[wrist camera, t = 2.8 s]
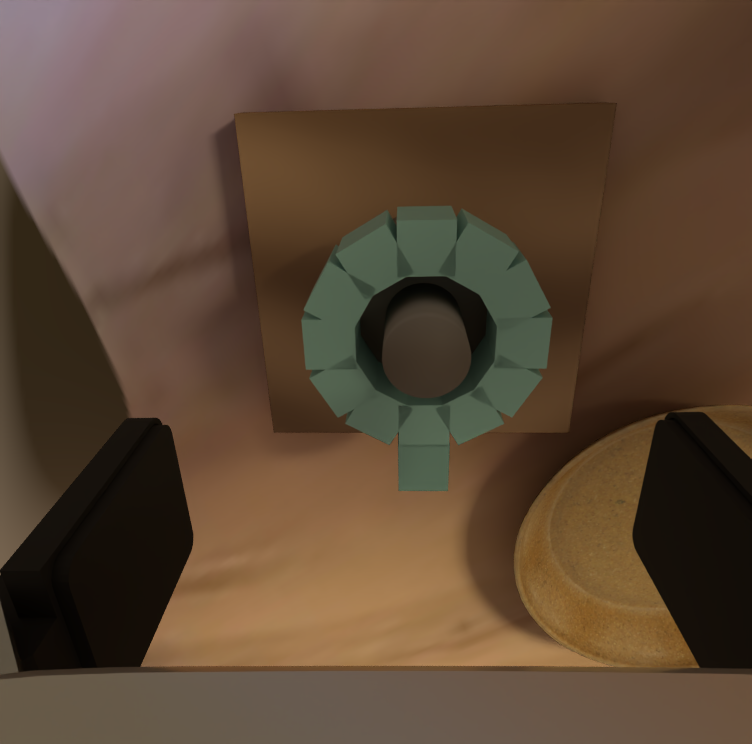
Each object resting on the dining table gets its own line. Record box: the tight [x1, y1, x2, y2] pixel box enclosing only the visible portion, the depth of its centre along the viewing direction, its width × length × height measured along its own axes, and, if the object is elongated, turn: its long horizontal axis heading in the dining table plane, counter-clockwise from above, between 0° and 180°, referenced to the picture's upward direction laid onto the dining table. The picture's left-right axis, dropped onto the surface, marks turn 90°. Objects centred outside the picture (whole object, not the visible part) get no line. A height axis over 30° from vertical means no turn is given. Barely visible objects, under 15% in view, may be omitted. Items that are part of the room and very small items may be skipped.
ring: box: [301, 206, 552, 491], centre depth 17 cm, size 9×7×2 cm
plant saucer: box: [514, 405, 752, 668], centre depth 25 cm, size 15×15×3 cm
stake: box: [234, 103, 617, 433], centre depth 18 cm, size 12×12×7 cm
